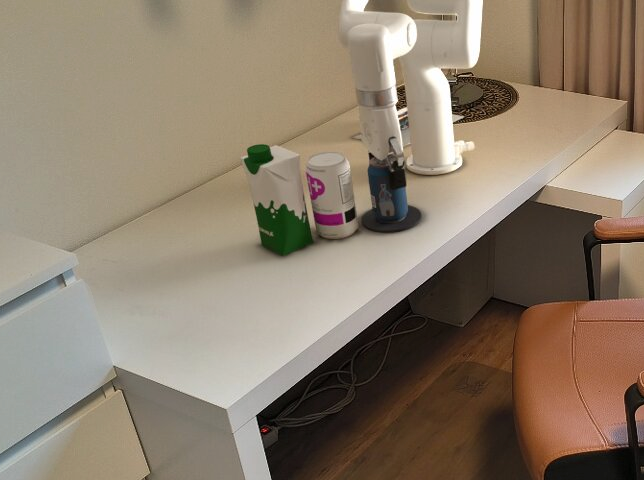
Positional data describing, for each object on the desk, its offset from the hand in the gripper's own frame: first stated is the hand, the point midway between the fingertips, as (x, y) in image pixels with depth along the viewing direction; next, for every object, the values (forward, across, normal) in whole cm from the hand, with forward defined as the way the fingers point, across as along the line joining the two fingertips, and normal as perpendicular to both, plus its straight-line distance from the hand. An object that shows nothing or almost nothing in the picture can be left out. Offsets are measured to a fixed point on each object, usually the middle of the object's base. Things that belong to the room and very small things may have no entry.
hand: (388, 178), depth 178 cm
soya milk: (+8, 0, -22) cm, 23 cm away
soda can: (+8, +1, -1) cm, 8 cm away
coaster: (+8, +1, -1) cm, 8 cm away
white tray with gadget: (+10, -44, +23) cm, 51 cm away
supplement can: (+8, 0, -12) cm, 14 cm away
